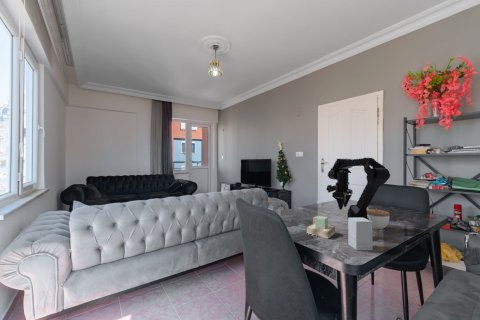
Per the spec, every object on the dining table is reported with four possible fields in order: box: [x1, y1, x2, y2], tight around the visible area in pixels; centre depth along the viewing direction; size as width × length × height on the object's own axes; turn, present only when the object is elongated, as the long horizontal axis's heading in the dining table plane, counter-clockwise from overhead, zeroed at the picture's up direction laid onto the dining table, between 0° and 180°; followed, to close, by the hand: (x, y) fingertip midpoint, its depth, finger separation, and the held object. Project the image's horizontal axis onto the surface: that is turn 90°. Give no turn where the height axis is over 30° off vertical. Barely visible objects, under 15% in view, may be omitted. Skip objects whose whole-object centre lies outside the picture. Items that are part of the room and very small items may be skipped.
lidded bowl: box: [367, 207, 390, 230], centre depth 128 cm, size 13×13×11 cm
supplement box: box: [347, 217, 373, 251], centre depth 99 cm, size 7×7×13 cm
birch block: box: [306, 223, 336, 239], centre depth 117 cm, size 11×11×4 cm
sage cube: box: [315, 215, 329, 229], centre depth 117 cm, size 5×5×5 cm
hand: (342, 208), depth 124 cm, fingers open, 9 cm apart
